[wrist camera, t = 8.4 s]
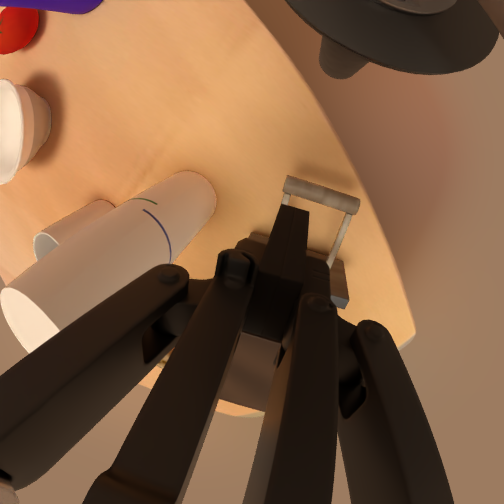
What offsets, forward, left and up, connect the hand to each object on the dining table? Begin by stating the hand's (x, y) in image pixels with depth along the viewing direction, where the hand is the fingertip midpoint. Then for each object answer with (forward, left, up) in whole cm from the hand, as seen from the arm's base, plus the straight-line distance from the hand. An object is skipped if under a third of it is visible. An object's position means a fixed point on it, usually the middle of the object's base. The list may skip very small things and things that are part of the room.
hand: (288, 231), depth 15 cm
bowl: (+27, -31, -18) cm, 45 cm away
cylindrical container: (+13, -4, -18) cm, 22 cm away
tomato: (+18, -47, -18) cm, 54 cm away
